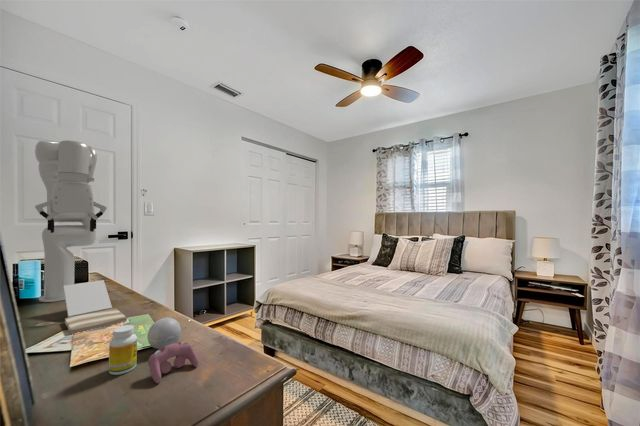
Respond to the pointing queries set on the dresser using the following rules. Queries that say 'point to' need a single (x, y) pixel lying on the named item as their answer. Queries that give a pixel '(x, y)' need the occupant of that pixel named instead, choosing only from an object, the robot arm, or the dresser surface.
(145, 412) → the dresser surface
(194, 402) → the dresser surface
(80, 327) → the birch board
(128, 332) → the supplement bottle
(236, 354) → the dresser surface
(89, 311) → the grey plank
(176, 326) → the bath bomb
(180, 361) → the video game controller
